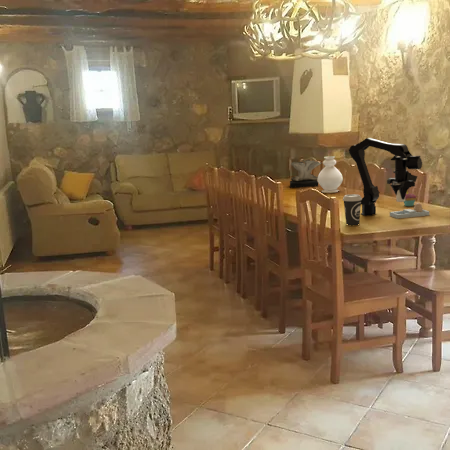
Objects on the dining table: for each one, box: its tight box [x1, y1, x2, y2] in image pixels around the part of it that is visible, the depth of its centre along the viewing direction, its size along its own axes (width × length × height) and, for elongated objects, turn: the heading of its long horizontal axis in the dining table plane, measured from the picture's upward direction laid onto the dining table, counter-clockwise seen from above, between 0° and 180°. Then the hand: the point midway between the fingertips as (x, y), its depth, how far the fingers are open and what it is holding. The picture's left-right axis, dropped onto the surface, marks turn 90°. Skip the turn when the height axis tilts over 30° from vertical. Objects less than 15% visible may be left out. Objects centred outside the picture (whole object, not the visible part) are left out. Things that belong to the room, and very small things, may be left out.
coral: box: [289, 159, 322, 189], centre depth 417 cm, size 25×20×22 cm
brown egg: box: [413, 202, 424, 212], centre depth 282 cm, size 5×5×6 cm
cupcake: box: [403, 190, 418, 207], centre depth 312 cm, size 9×8×12 cm
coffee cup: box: [342, 193, 363, 226], centre depth 270 cm, size 10×10×15 cm
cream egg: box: [395, 190, 405, 203], centre depth 279 cm, size 5×5×6 cm
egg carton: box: [389, 208, 430, 219], centre depth 282 cm, size 18×8×3 cm, turn 101°
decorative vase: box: [317, 155, 344, 194], centre depth 383 cm, size 18×18×25 cm
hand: (400, 198), depth 280 cm, fingers closed on cream egg, 5 cm apart
